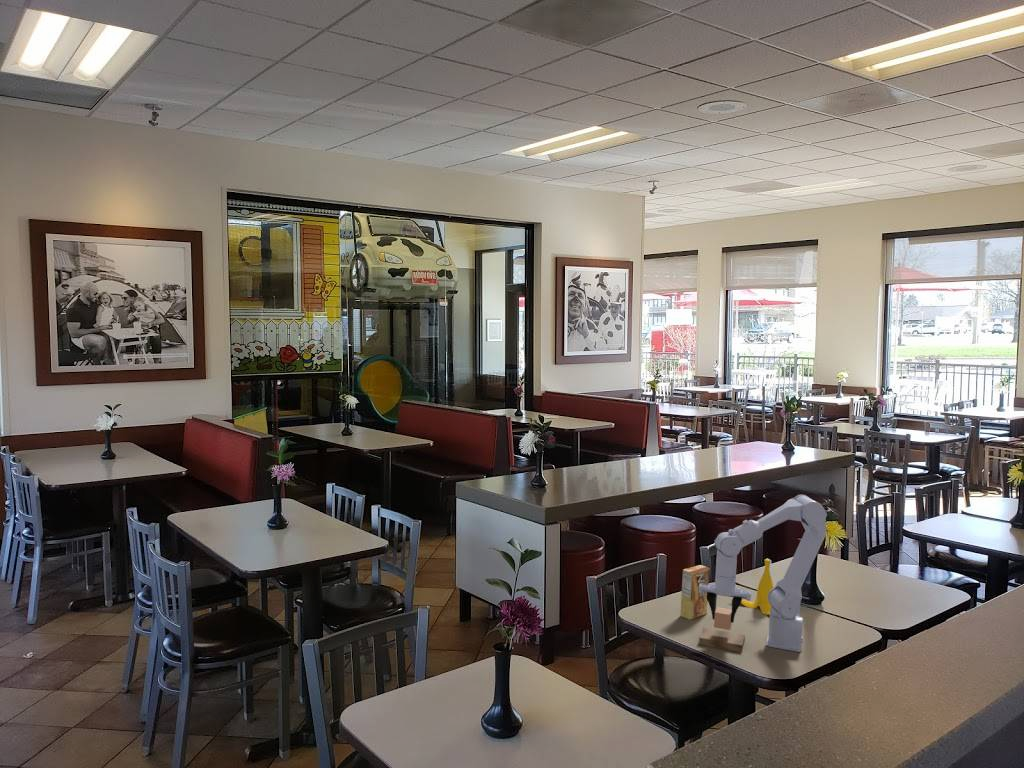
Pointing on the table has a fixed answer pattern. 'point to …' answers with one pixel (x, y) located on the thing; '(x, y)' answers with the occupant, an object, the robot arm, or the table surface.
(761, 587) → the banana peel
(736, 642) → the walnut board
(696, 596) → the candy box
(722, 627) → the terracotta cube
